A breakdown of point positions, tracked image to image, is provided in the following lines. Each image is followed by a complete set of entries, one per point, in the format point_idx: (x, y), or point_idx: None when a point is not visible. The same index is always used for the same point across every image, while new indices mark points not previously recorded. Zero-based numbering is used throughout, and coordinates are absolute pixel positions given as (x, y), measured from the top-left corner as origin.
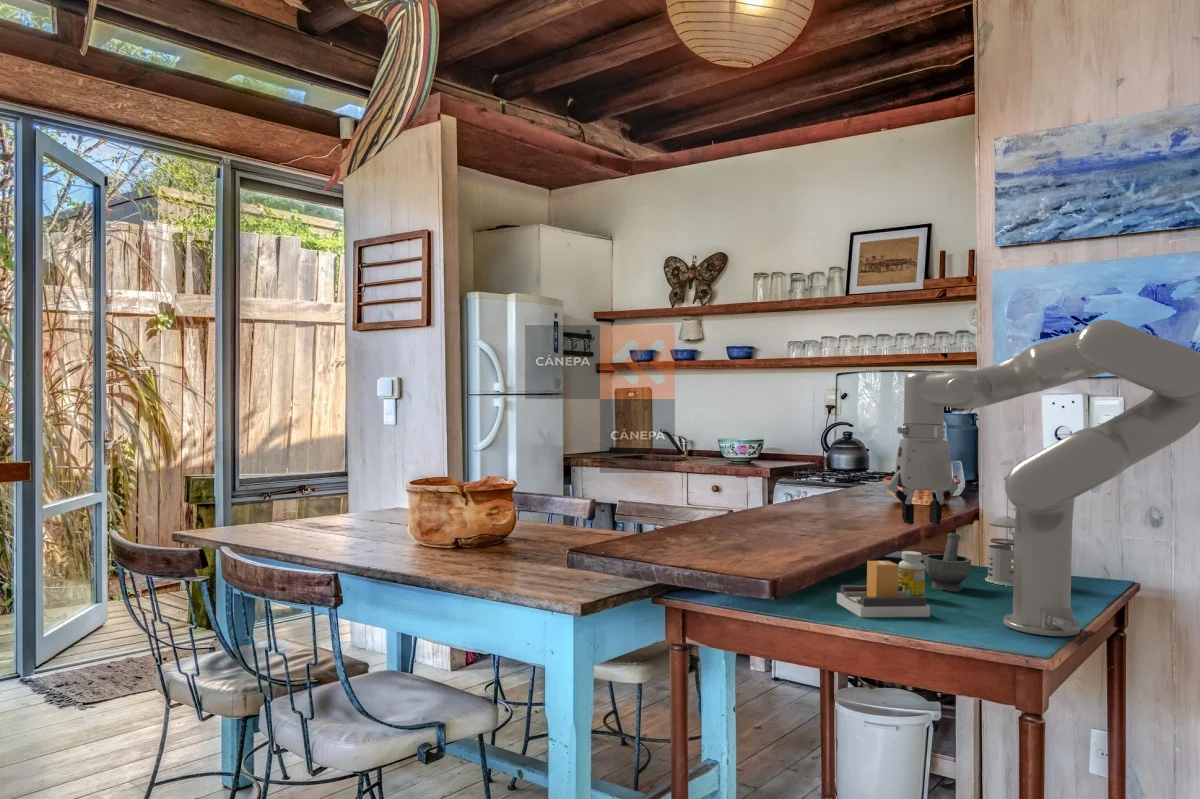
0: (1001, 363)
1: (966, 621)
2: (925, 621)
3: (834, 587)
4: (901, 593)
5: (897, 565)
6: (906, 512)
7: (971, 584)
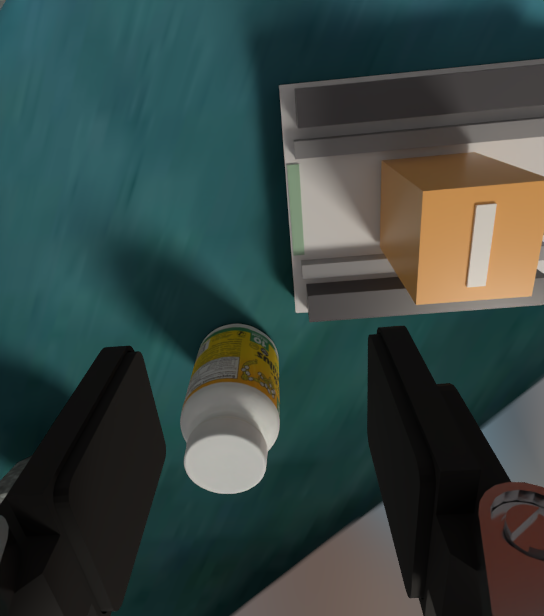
0: None
1: (158, 13)
2: (327, 2)
3: None
4: (322, 261)
5: (428, 190)
6: (467, 425)
7: None
